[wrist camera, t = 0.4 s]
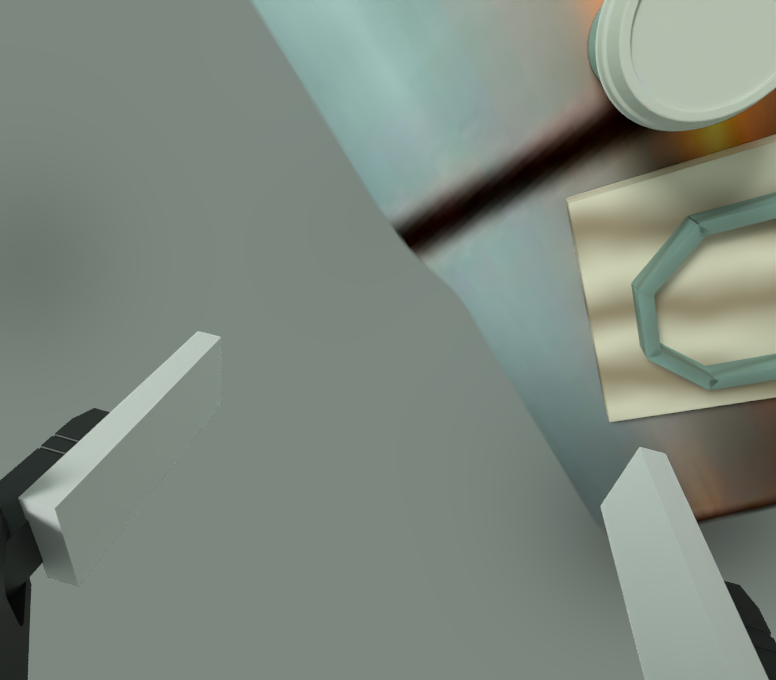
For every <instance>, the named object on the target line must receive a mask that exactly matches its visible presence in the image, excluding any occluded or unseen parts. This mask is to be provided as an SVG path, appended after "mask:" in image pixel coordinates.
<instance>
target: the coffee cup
mask: <svg viewBox="0 0 776 680" xmlns="http://www.w3.org/2000/svg"><path fill="white" fill-rule="evenodd" d="M587 53H588V59H589V63H590V66H591V68H592V70H593V72H594V74H595V75H596V76H597V78H598V79H599V80H600V81H601V83H602V86H603V88H604V90H605V92H606V94H607V96H608V97H609V99H610V100H611V102H612V103H613V104H614V106H615V107H616V108H617V109H618V110H619V111H620V112H621V113H622V114H623V115H625V116H626V117H627V118H629V119H630V120H632V121H634V122H636V123H637V124H640V125H642V126H645V127H647V128H651V129H655V130H661V131H687V130H693V129H698V128H703V127H707V126H711V125H714V124H717V123H720V122H722V121H725V120H727V119H729V118H731V117H733V116H735V115H737V114H739V113H741V112H743V111H744V110H746V109H748V108H749V107H751V106H752V105H754V104H755V103H757V102H758V101H759V100H761V99H762V98H763V97H764V96H766V95H767V94H769V93H770V92H771V91H773V90H774V89H775V88H776V0H604V3H603V5H602V6H601V8H600V9H599V11H598V13H597V14H596V16H595V18H594V20H593V23H592V25H591V28H590V31H589V36H588V43H587Z"/></svg>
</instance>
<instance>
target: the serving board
mask: <svg viewBox="0 0 776 680" xmlns="http://www.w3.org/2000/svg"><path fill="white" fill-rule="evenodd" d="M565 201H566V206H567V211H568V216H569V222H570V227H571V232H572V237H573V242H574V248H575V253H576V258H577V263H578V269H579V274H580V279H581V284H582V289H583V295H584V300H585V305H586V310H587V315H588V321H589V326H590V331H591V336H592V342H593V347H594V352H595V357H596V362H597V368H598V373H599V378H600V383H601V389H602V394H603V399H604V404H605V409H606V413H607V416H608V419H609V422H614V421H621V420H628V419H634V418H641V417H648V416H654V415H661V414H668V413H674V412H681V411H688V410H694V409H701V408H708V407H714V406H721V405H728V404H734V403H741V402H748V401H754V400H761V399H768V398H774V397H776V134H775V135H771V136H768V137H765V138H761V139H758V140H755V141H752V142H748V143H745V144H742V145H738V146H735V147H732V148H728V149H725V150H722V151H719V152H715V153H712V154H709V155H705V156H702V157H699V158H695V159H692V160H689V161H686V162H682V163H679V164H676V165H672V166H669V167H666V168H662V169H659V170H656V171H653V172H649V173H646V174H643V175H639V176H636V177H633V178H629V179H626V180H623V181H619V182H616V183H613V184H610V185H606V186H603V187H600V188H596V189H593V190H590V191H586V192H583V193H580V194H577V195H573V196H570V197H567V198H565Z"/></svg>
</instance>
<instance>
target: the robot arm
mask: <svg viewBox="0 0 776 680" xmlns="http://www.w3.org/2000/svg"><path fill="white" fill-rule="evenodd" d="M221 367H222V366H221V337H219V336H215V335H211V334H207V333H203V332H199V331H198V332H197V333H196V334H194V335H193V336H192V337H191V338H190V339H189V340H188V341H187V342H186V343H185V344H184V345H183V346H181V347H180V348H179V349H178V350H177V351H176V352H175V353H174V354H173V355H172V356H171V357H170V358H169V359H167V360H166V361H165V362H164V363H163V364H162V365H161V366H160V367H159V368H158V369H157V370H156V371H154V372H153V373H152V374H151V375H150V376H149V377H148V378H147V379H146V380H145V381H144V382H143V383H142V384H141V385H139V386H138V387H137V388H136V389H135V390H134V391H133V392H132V393H131V394H130V395H129V396H128V397H127V398H125V399H124V400H123V401H122V402H121V403H120V404H119V405H118V406H117V407H116V408H115V409H114V410H112V411H111V412H106V411H103V410H99V409H96V408H94V409H92V410H89V411H87V412H85V413H83V414H82V415H80V416H77V417H75V418H73V419H71V420H70V421H69V422H68V423H67V424H66V425H64V426H63V427H62V428H61V429H60V430H59V431H57V432H56V433H55V436H54V437H53V436H52V437H50V438H49V439H48V440H47V441H46V442H45V443H43V444H42V445H41V448H40V449H37V450H35V451H34V452H33V453H32V454H31V455H29V456H28V457H27V458H26V459H25V460H24V461H22V462H21V463H20V464H19V465H18V466H17V467H15V468H14V469H13V470H12V471H11V472H10V473H8V474H7V475H6V476H5V477H4V478H3V479H1V480H0V680H28V654H29V628H30V604H31V582H30V578H29V577H30V576H31V575H32V574H33V572H34V571H35V570H36V569H37V568H38V567H39V566H40V565H41V563H43V566H44V569H45V571H46V574H47V577H49V578H52V579H55V580H58V581H62V582H65V583H69V584H72V585H75V586H78V587H79V586H80V585H81V584H82V583H83V581H84V580H85V579H86V577H87V576H88V575H89V574H90V572H91V571H92V570H93V568H94V567H95V566H96V565H97V563H98V562H99V561H100V559H101V558H102V557H103V555H104V554H105V553H106V552H107V550H108V549H109V548H110V547H111V545H112V544H113V543H114V542H115V540H116V539H117V538H118V536H119V535H120V534H121V532H122V531H123V530H124V529H125V527H126V526H127V525H128V524H129V522H130V521H131V520H132V518H133V517H134V516H135V515H136V513H137V512H138V511H139V509H140V508H141V507H142V506H143V504H144V503H145V502H146V500H147V499H148V498H149V496H150V495H151V494H152V493H153V491H154V490H155V489H156V488H157V486H158V485H159V484H160V482H161V481H162V480H163V479H164V477H165V476H166V475H167V474H168V472H169V471H170V470H171V468H172V467H173V466H174V465H175V463H176V462H177V461H178V459H179V458H180V457H181V455H182V454H183V453H184V452H185V450H186V449H187V448H188V446H189V445H190V444H191V443H192V441H193V440H194V439H195V438H196V436H197V435H198V434H199V432H200V431H201V430H202V428H203V427H204V426H205V425H206V423H207V422H208V421H209V419H210V418H211V417H212V416H213V414H214V413H215V412H216V411H217V409H218V408H219V407H220V405H221V404H222V374H221V373H222V371H221V370H222V368H221ZM600 507H601V511H602V514H603V518H604V522H605V526H606V530H607V534H608V538H609V542H610V546H611V550H612V554H613V557H614V561H615V565H616V569H617V573H618V577H619V581H620V585H621V589H622V593H623V597H624V600H625V604H626V608H627V612H628V616H629V620H630V624H631V627H632V632H633V636H634V640H635V644H636V647H637V651H638V655H639V659H640V663H641V667H642V671H643V675H644V679H645V680H776V642H775V640H774V638H772V637H771V636H770V634H771V632H770V630H769V628H768V626H767V624H766V622H765V620H764V618H763V616H762V614H761V612H760V610H759V608H758V607H757V606H756V605H755V603H754V602H753V601H752V600H751V599H750V597H749V596H748V595H747V594H746V592H745V591H744V590H743V589H742V587H741V586H740V585H737V584H734V583H730V582H726V581H723V578H722V576H721V574H720V572H719V570H718V567H717V565H716V563H715V561H714V559H713V557H712V554H711V552H710V550H709V548H708V546H707V543H706V541H705V539H704V537H703V535H702V532H701V530H700V528H699V526H698V524H697V521H696V519H695V517H694V515H693V513H692V510H691V508H690V506H689V504H688V502H687V500H686V497H685V495H684V493H683V491H682V489H681V486H680V484H679V482H678V480H677V478H676V475H675V473H674V471H673V469H672V467H671V464H670V462H669V460H668V458H667V456H666V454H665V453H661V452H658V451H654V450H650V449H646V448H642V447H639V449H638V450H637V452H636V453H635V455H634V456H633V458H632V459H631V461H630V462H629V464H628V465H627V467H626V468H625V470H624V471H623V473H622V474H621V476H620V477H619V479H618V480H617V482H616V483H615V485H614V486H613V488H612V489H611V491H610V492H609V494H608V495H607V497H606V498H605V500H604V501H603V503H602V504H601V506H600Z"/></svg>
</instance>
